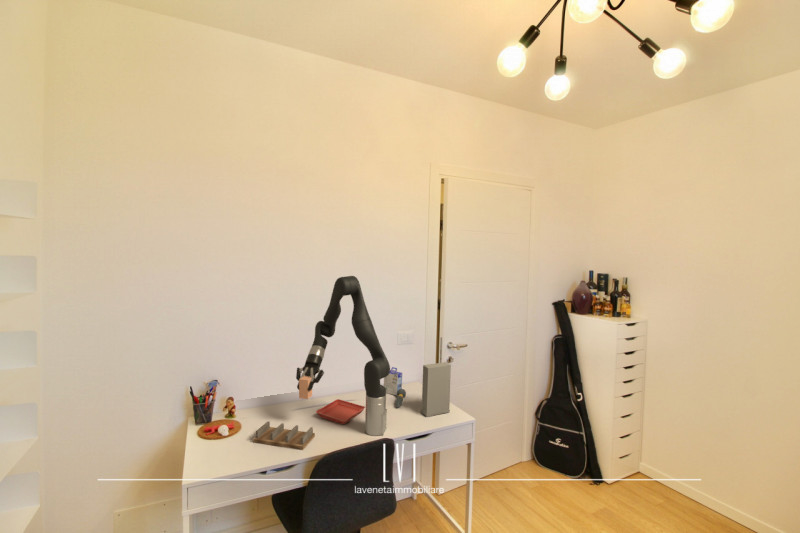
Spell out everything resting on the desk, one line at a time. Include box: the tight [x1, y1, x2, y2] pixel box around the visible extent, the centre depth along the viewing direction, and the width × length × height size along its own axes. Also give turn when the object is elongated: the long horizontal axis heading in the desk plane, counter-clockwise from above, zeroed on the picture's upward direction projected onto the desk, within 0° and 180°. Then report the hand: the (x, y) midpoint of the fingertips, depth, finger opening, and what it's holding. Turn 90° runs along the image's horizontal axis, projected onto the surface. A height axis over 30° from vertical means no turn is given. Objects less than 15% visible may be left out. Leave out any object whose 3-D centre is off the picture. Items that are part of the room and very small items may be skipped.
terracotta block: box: [298, 376, 313, 400], centre depth 166 cm, size 4×4×9 cm
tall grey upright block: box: [420, 361, 452, 418], centre depth 182 cm, size 14×6×25 cm, turn 115°
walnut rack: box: [252, 421, 316, 451], centre depth 152 cm, size 23×11×4 cm, turn 78°
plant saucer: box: [315, 398, 366, 425], centre depth 177 cm, size 18×18×3 cm
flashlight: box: [395, 388, 407, 408], centre depth 194 cm, size 20×5×5 cm, turn 176°
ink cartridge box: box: [383, 366, 403, 397], centre depth 206 cm, size 10×6×14 cm, turn 59°
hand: (303, 389), depth 164 cm, fingers closed on terracotta block, 4 cm apart
